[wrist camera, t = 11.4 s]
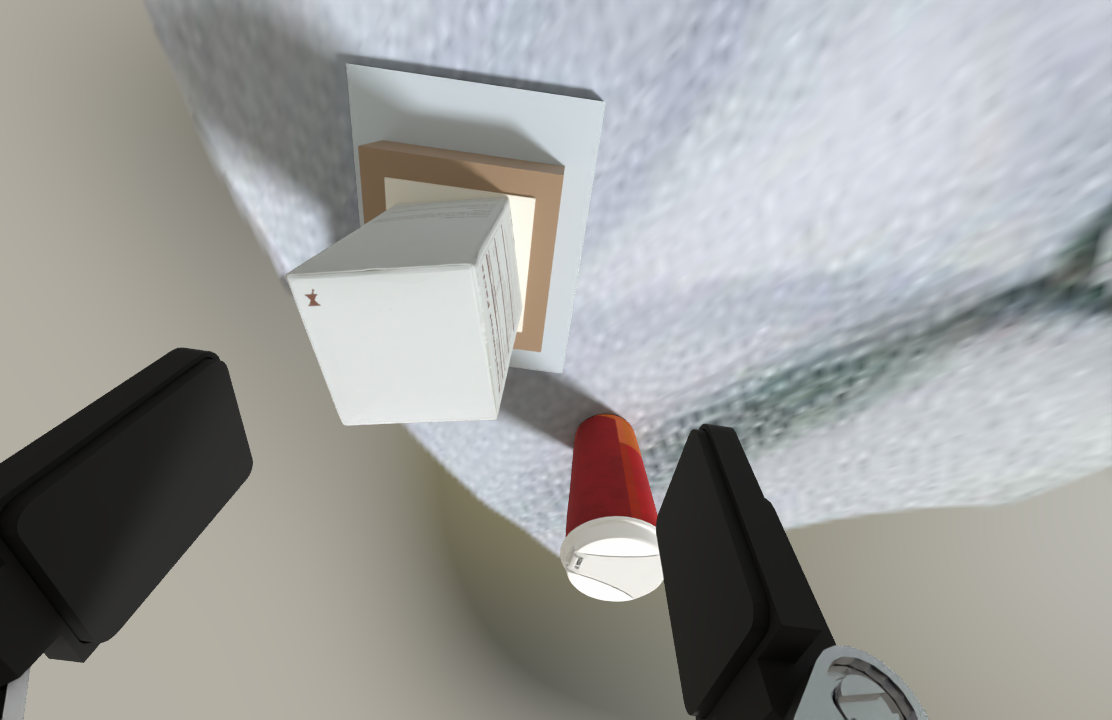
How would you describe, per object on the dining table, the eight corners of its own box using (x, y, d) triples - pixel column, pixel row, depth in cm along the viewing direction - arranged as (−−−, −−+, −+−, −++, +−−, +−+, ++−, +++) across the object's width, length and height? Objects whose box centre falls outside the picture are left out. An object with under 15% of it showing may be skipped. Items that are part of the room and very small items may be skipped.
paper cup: (554, 458, 44) (547, 594, 32) (576, 395, 41) (578, 522, 29) (631, 475, 45) (651, 614, 33) (660, 415, 41) (695, 547, 29)
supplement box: (418, 313, 31) (335, 429, 21) (393, 201, 28) (275, 270, 17) (525, 309, 31) (499, 425, 20) (514, 194, 27) (474, 260, 16)
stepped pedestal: (352, 64, 29) (311, 58, 24) (604, 101, 29) (610, 102, 25) (374, 343, 39) (348, 376, 34) (562, 367, 39) (561, 402, 35)
